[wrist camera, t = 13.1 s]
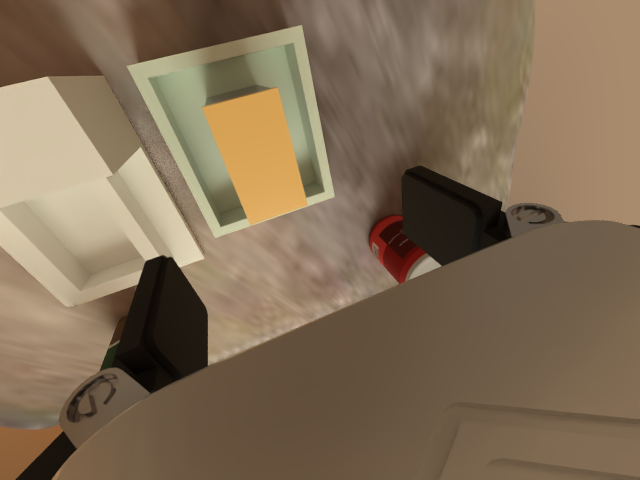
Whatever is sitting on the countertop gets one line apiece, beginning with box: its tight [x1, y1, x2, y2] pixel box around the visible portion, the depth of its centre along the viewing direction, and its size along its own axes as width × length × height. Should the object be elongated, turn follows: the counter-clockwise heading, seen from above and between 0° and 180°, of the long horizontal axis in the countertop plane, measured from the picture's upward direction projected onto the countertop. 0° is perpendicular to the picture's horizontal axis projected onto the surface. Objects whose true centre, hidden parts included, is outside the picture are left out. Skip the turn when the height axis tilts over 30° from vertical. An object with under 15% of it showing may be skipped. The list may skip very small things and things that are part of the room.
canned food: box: [369, 215, 441, 284], centre depth 39 cm, size 8×8×11 cm
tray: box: [127, 25, 334, 238], centre depth 28 cm, size 16×14×4 cm
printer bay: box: [0, 76, 205, 307], centre depth 24 cm, size 20×16×10 cm
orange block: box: [202, 85, 308, 225], centre depth 25 cm, size 9×5×10 cm, turn 13°
